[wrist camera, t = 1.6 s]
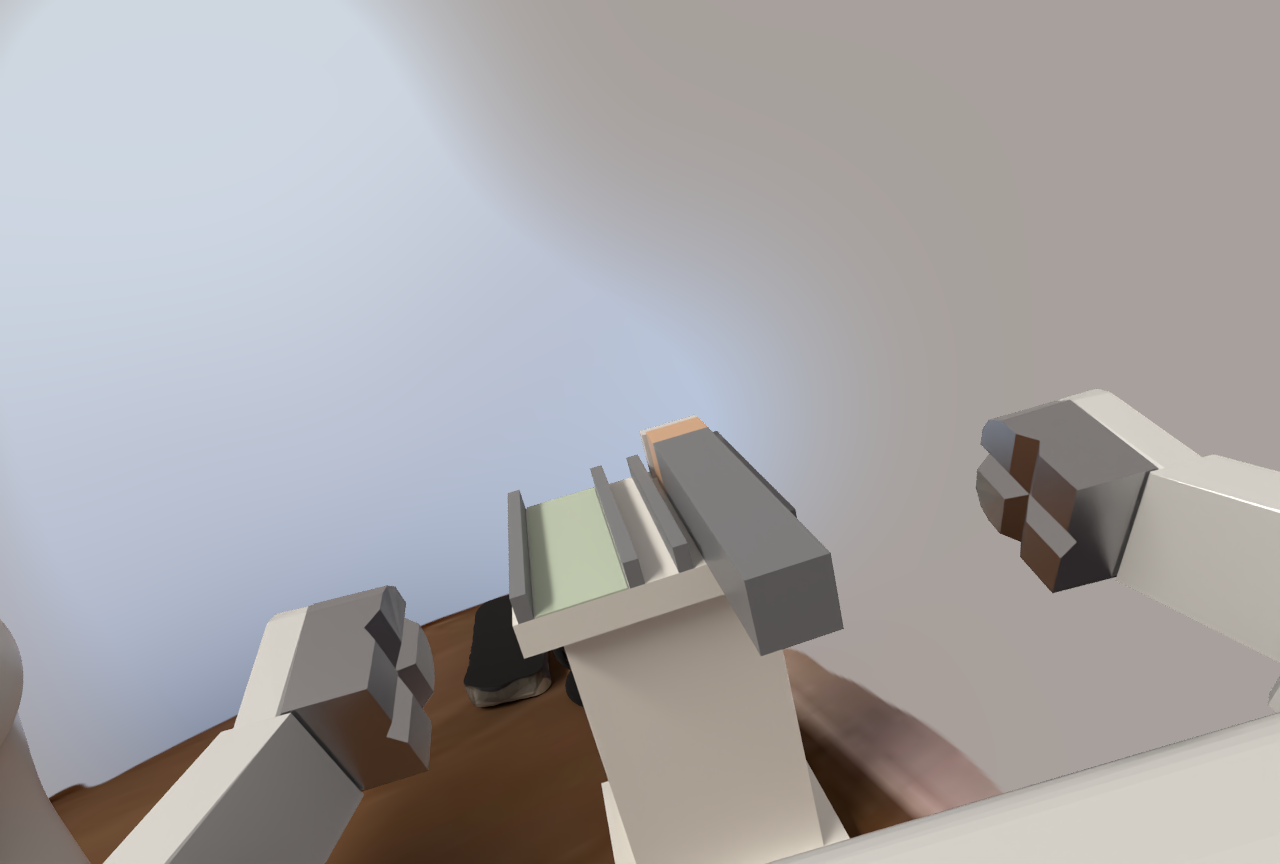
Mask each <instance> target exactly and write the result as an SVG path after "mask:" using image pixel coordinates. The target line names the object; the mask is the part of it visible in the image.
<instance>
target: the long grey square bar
mask: <svg viewBox="0 0 1280 864" xmlns="http://www.w3.org/2000/svg"><path fill="white" fill-rule="evenodd" d="M646 436H647V440H648V444H649V448H650V452H651V455H652V459H653V463H654V467H655V471H656V475H657V479H658V482H659V484H660V485H661V487H662V489H663V490H664V492H665V494H666V496H667V497H668V499H669V501H670V502H671V504H672V506H673V507H674V509H675V511H676V513H677V514H678V516H679V518H680V519H681V521H682V523H683V525H684V526H685V528H686V530H687V531H688V533H689V535H690V536H691V538H692V540H693V542H694V543H695V545H696V547H697V548H698V550H699V552H700V553H701V555H702V557H703V559H704V560H705V562H706V564H707V565H708V567H709V569H710V571H711V572H712V574H713V576H714V577H715V579H716V581H717V582H718V584H719V586H720V588H721V589H722V591H723V593H724V594H725V596H726V598H727V599H728V601H729V603H730V605H731V606H732V608H733V610H734V611H735V613H736V615H737V616H738V618H739V620H740V622H741V623H742V625H743V627H744V628H745V630H746V632H747V634H748V635H749V637H750V639H751V640H752V642H753V644H754V645H755V647H756V649H757V651H758V652H759V654H760V656H764V655H767V654H770V653H773V652H776V651H779V650H782V649H785V648H788V647H791V646H793V645H796V644H800V643H802V642H805V641H809V640H812V639H814V638H817V637H820V636H823V635H826V634H829V633H832V632H835V631H838V630H841V629H844V628H843V623H842V617H841V611H840V606H839V599H838V593H837V587H836V582H835V576H834V570H833V565H832V559H831V553H830V552H829V551H828V550H827V549H826V548H825V547H824V546H823V545H822V544H821V543H820V542H819V541H818V540H817V539H816V538H815V537H814V536H813V535H812V534H811V532H810V531H809V530H808V529H807V528H806V527H805V526H804V525H803V524H802V523H801V522H800V521H799V520H798V519H797V518H796V517H795V516H794V515H793V514H792V513H791V512H790V511H789V510H788V509H787V508H786V507H785V506H784V505H783V504H782V503H781V502H780V501H779V500H778V499H777V498H776V497H775V496H774V495H773V494H772V493H771V491H770V490H769V489H768V488H767V487H766V486H765V485H764V484H763V483H762V482H761V481H760V480H759V479H758V478H757V477H756V476H755V475H754V474H753V473H752V472H751V471H750V470H749V469H748V468H747V467H746V466H745V465H744V464H743V463H742V462H741V461H740V460H739V459H738V458H737V457H736V456H735V455H734V454H733V453H732V452H731V451H730V450H729V448H728V447H727V446H726V445H725V444H724V443H723V442H722V441H721V440H720V439H719V438H718V437H717V436H716V435H715V434H714V433H713V432H712V431H711V430H710V429H709V428H708V427H707V426H706V425H705V424H704V423H703V422H702V421H701V420H700V419H699V418H698V417H695V418H692V419H688V420H685V421H682V422H678V423H675V424H672V425H668V426H665V427H661V428H658V429H655V430H651V431H648V432H646Z"/></svg>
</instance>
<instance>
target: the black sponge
mask: <svg viewBox="0 0 1280 864" xmlns="http://www.w3.org/2000/svg"><path fill="white" fill-rule="evenodd" d="M471 648H472V649H471V654H470V657H469V659H470V661H469V666H468V669H467V673H466V675H465V678H464V685H465V689H466V692H467V694H468V696H469V698H470V700H471V702H472V703H473V704H474V705H475V706H478V707H486V706H495V705H497V704H501V703H505V702H509V701H514V700H518V699H523V698H528V697H533V696H537V695H540V694H542V693H543V692H545V691H546V690H547V689H548V688H549V687H550V685H551V676H550V672H549V667H548V651H547V652H544V653H541V654H538V655H535V656H531V657H528V658H525V659H524V657H523V654H522V651H521V648H520V646H519V643H518V640H517V637H516V634H515V632H514V629H513V625H512V605H511V602H510V599H509V595H508V596H504V597H500V598H497V599H494V600H491V601H488V602H486V603H484V604H483V605H481V607H480V608H479V609H478V610H477V612H476V615H475V625H474V634H473V642H472V647H471Z"/></svg>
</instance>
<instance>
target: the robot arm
mask: <svg viewBox="0 0 1280 864" xmlns="http://www.w3.org/2000/svg"><path fill="white" fill-rule="evenodd" d="M981 445H982V446H983V447H984V448H985V449H986V450H987V451H988V452H989V453H990V454H989V455H988V456H987V458H986V459H985V460H984V461H983V463H982V464H981V465H980V467H979V468H978V469H977V481H976V490H977V493H978V497H979V501H980V505H981V507H982V508H983V511H984V513H985V514H986V516H987V518H988V520H989V521H990V522H991V523H992V525H993V526H994V527H995V528H996V529H997V531H998V532H999V533H1000V534H1003V535H1005V536H1008V537H1010V538H1013V539H1015V540H1018V541H1020V542H1021V550H1020V557H1021V558H1022V559H1023V560H1024V562H1025V563H1026V564H1027V565H1028V566H1029V567H1030V568H1031V569H1032V571H1034V573H1035V574H1036V575H1037V576H1038V577H1039V578H1040V580H1041V581H1042V582H1043V583H1044V584H1045V585H1046V586H1047V588H1048V589H1049V590H1050V591H1051V592H1052V593H1055V592H1059V591H1062V590H1067V589H1071V588H1074V587H1079V586H1082V585H1086V584H1090V583H1094V582H1098V581H1102V580H1106V579H1110V578H1114V577H1116V581H1118V582H1120V583H1122V584H1124V585H1126V586H1128V587H1130V588H1132V589H1134V590H1136V591H1138V592H1140V593H1142V594H1144V595H1146V596H1148V597H1150V598H1152V599H1153V600H1156V601H1157V602H1160V603H1161V604H1163V605H1165V606H1167V607H1169V608H1171V609H1173V610H1175V611H1177V612H1179V613H1181V614H1183V615H1185V616H1187V617H1189V618H1191V619H1193V620H1195V621H1197V622H1199V623H1201V624H1203V625H1205V626H1207V627H1209V628H1211V629H1213V630H1215V631H1217V632H1219V633H1221V634H1223V635H1225V636H1227V637H1229V638H1231V639H1233V640H1235V641H1237V642H1239V643H1241V644H1243V645H1245V646H1247V647H1248V648H1251V649H1252V650H1255V651H1257V652H1258V653H1260V654H1262V655H1264V656H1266V657H1268V658H1270V659H1273V660H1274V661H1276V662H1278V663H1280V472H1278V471H1274V470H1271V469H1266V468H1263V467H1259V466H1255V465H1251V464H1248V463H1244V462H1240V461H1236V460H1233V459H1229V458H1225V457H1221V456H1218V455H1210V456H1207V457H1201V456H1199V455H1198V454H1196V453H1195V452H1194V451H1192V450H1191V449H1189V448H1188V447H1187V446H1185V445H1184V444H1182V443H1181V442H1179V441H1178V440H1177V439H1175V438H1174V437H1172V436H1171V435H1170V434H1168V433H1167V432H1166V431H1164V430H1163V429H1161V428H1160V427H1158V426H1157V425H1156V424H1154V423H1153V422H1151V421H1150V420H1149V419H1147V418H1146V417H1144V416H1143V415H1142V414H1140V413H1139V412H1137V411H1136V410H1135V409H1133V408H1132V407H1130V406H1129V405H1128V404H1126V403H1125V402H1123V401H1122V400H1121V399H1119V398H1118V397H1116V396H1115V395H1114V394H1112V393H1111V392H1108V391H1105V390H1101V389H1094V390H1091V391H1087V392H1084V393H1080V394H1077V395H1073V396H1070V397H1066V398H1063V399H1060V400H1059V401H1054V402H1050V403H1047V404H1043V405H1040V406H1036V407H1033V408H1029V409H1026V410H1022V411H1018V412H1015V413H1012V414H1008V415H1004V416H1001V417H997V418H994V419H990V420H988V422H987V423H986V425H985V426H984V428H983V431H982V437H981ZM405 607H406V602H405V601H404V599H403V598H402V596H401V595H400V593H399V592H398V590H397V589H396V587H394V586H384V587H380V588H375V589H371V590H368V591H363V592H360V593H356V594H352V595H347V596H343V597H340V598H335V599H331V600H327V601H323V602H320V603H316V604H314V605H312V606H308V607H303V608H299V609H295V610H291V611H287V612H283V613H278V614H276V615H275V616H274V617H273V618H272V619H271V620H270V621H269V622H268V624H267V626H266V629H265V632H264V635H263V638H262V641H261V644H260V647H259V650H258V654H257V657H256V660H255V663H254V666H253V669H252V672H251V676H250V678H249V681H248V685H247V688H246V691H245V694H244V697H243V700H242V703H241V706H240V709H239V713H238V716H237V719H236V722H235V725H234V728H233V729H230V730H227V731H224V732H221V733H220V734H219V735H218V736H217V737H216V738H215V740H214V741H213V742H212V743H211V744H210V745H209V746H208V747H207V748H206V750H205V751H204V752H203V753H202V754H201V755H200V756H199V757H198V759H197V760H196V761H195V762H194V763H193V764H192V765H191V766H190V767H189V769H188V770H187V771H186V772H185V773H184V774H183V775H182V776H181V777H180V779H179V780H178V781H177V782H176V783H175V784H174V785H173V786H172V787H171V789H170V790H169V791H168V792H167V793H166V794H165V795H164V796H163V797H162V799H161V800H160V801H159V802H158V803H157V804H156V805H155V806H154V807H153V809H152V810H151V811H150V812H149V813H148V814H147V815H146V816H145V817H144V819H143V820H142V821H141V822H140V823H139V824H138V825H137V826H136V827H135V829H134V830H133V831H132V832H131V833H130V834H129V835H128V836H127V837H126V839H125V840H124V841H123V842H122V843H121V844H120V845H119V846H118V847H117V849H116V850H115V851H114V852H113V853H112V854H111V855H110V856H109V857H108V859H107V860H106V861H105V862H104V863H103V864H325V863H326V861H327V859H328V858H329V856H330V854H331V852H332V850H333V849H334V847H335V845H336V843H337V842H338V840H339V838H340V836H341V835H342V833H343V831H344V829H345V827H346V826H347V824H348V822H349V820H350V819H351V817H352V815H353V813H354V812H355V810H356V808H357V806H358V804H359V803H360V801H361V799H362V797H363V796H364V795H363V793H362V791H365V790H369V789H372V788H375V787H378V786H381V785H384V784H388V783H391V782H394V781H397V780H400V779H404V778H407V777H410V776H413V775H416V774H420V773H423V772H426V771H428V768H429V754H430V740H431V726H432V722H431V721H430V719H429V718H428V716H427V715H426V713H425V712H424V710H423V707H424V706H425V704H426V703H427V701H428V700H429V698H430V697H431V695H432V694H433V692H434V675H435V672H434V665H433V658H432V652H431V649H430V646H429V643H428V640H427V638H426V635H425V633H424V632H423V630H422V628H421V627H420V625H419V624H418V623H415V622H413V621H411V620H408V619H406V618H404V617H405ZM22 689H23V666H22V660H21V656H20V652H19V649H18V646H17V644H16V642H15V640H14V638H13V636H12V634H11V632H10V631H9V630H8V628H7V627H6V625H5V624H4V623H3V622H2V621H1V620H0V864H91V863H90V862H89V860H88V859H87V857H86V856H85V854H84V853H83V851H82V850H81V848H80V847H79V845H78V844H77V842H76V841H75V839H74V838H73V836H72V835H71V833H70V832H69V830H68V829H67V827H66V826H65V824H64V823H63V821H62V820H61V819H60V817H59V816H58V814H57V813H56V811H55V809H54V808H53V806H52V804H51V802H50V801H49V799H48V797H47V795H46V793H45V791H44V789H43V786H42V784H41V781H40V779H39V777H38V774H37V771H36V768H35V765H34V762H33V759H32V757H31V753H30V750H29V746H28V743H27V740H26V736H25V733H24V730H23V727H22V724H21V720H20V717H19V714H18V708H19V705H20V700H21V696H22ZM1268 705H1269V706H1270V707H1271V708H1272V709H1273V710H1274V711H1275V712H1276V714H1272V715H1269V716H1265V717H1262V718H1258V719H1255V720H1252V721H1248V722H1245V723H1242V724H1238V725H1235V726H1231V727H1228V728H1224V729H1221V730H1218V731H1214V732H1211V733H1207V734H1204V735H1201V736H1197V737H1194V738H1190V739H1187V740H1184V741H1180V742H1177V743H1173V744H1170V745H1166V746H1163V747H1160V748H1156V749H1153V750H1149V751H1146V752H1143V753H1139V754H1136V755H1132V756H1129V757H1126V758H1123V759H1119V760H1115V761H1112V762H1109V763H1105V764H1102V765H1099V766H1095V767H1092V768H1088V769H1085V770H1082V771H1078V772H1075V773H1071V774H1068V775H1064V776H1061V777H1058V778H1054V779H1051V780H1047V781H1044V782H1041V783H1038V784H1034V785H1030V786H1027V787H1024V788H1020V789H1017V790H1014V791H1010V792H1007V793H1003V794H1000V795H996V796H993V797H989V798H986V799H983V800H979V801H976V802H972V803H969V804H966V805H962V806H959V807H955V808H952V809H949V810H945V811H942V812H938V813H935V814H932V815H928V816H925V817H921V818H918V819H915V820H911V821H908V822H904V823H901V824H898V825H894V826H891V827H887V828H884V829H881V830H877V831H874V832H871V833H867V834H864V835H860V836H857V837H854V838H850V839H847V840H843V841H840V842H837V843H833V844H830V845H826V846H823V847H820V848H816V849H813V850H809V851H806V852H803V853H799V854H796V855H792V856H789V857H786V858H782V859H779V860H775V861H772V862H769V863H765V864H1280V677H1279V678H1278V680H1277V681H1276V683H1275V685H1274V687H1273V688H1272V690H1271V691H1270V694H1269V702H1268Z"/></svg>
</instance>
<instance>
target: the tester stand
mask: <svg viewBox="0 0 1280 864" xmlns="http://www.w3.org/2000/svg"><path fill="white" fill-rule="evenodd" d="M695 417H697V416H696V415H693V416H689V417H686V418H682V419H679V420H676V421H672V422H669V423H666V424H662V425H659V426H655V427H652V428H649V429H645V430H642V431H639V432H640V436H641V440H642V443H643V447H644V451H645V455H646V459H647V462H648V467H649V470H650V472H647V471H646V469H645V467H644V465H643V464H642V462H641V460H640V458H639V456H638V455H634V456H631V457H628V458H627V462H628V465H629V469H630V473H631V478H628V479H625V480H622V481H618V482H615V483H611V484H608V481H607V478H606V476H605V473H604V471H603V468H602V466H598V467H594V468H591V469H590V470H591V473H592V477H593V480H594V484H595V487H596V488H595V489H594V487H593V488H590V489H587V490H583V491H581V492H577V493H574V494H570V495H567V496H564V497H561V498H557V499H554V500H551V501H547V502H544V503H540V504H537V505H534V506H530V507H527V509H525V506H524V503H523V500H522V497H521V494H520V491H519V490H517V491H514V492H511V493H508V533H509V534H508V538H509V599H510V602H511V605H512V625H513V629H514V632H515V634H516V637H517V640H518V643H519V646H520V648H521V651H522V654H523V657H524V659H525V658H528V657H531V656H535V655H538V654H541V653H544V652H547V651H550V650H553V649H556V648H559V647H562V646H564V649H565V652H566V655H567V658H568V661H569V664H570V667H571V670H572V673H573V676H574V679H575V682H576V685H577V688H578V691H579V694H580V697H581V700H582V703H583V706H584V709H585V712H586V715H587V718H588V721H589V724H590V727H591V730H592V733H593V736H594V739H595V742H596V745H597V748H598V751H599V754H600V757H601V760H602V763H603V766H604V769H605V772H606V775H607V778H608V781H607V782H604V783H601V784H602V790H603V796H604V802H605V807H606V813H607V819H608V825H609V831H610V836H611V842H612V848H613V854H614V860H615V864H765V863H769V862H772V861H775V860H779V859H782V858H786V857H789V856H792V855H796V854H799V853H803V852H806V851H809V850H813V849H816V848H820V847H823V846H826V845H830V844H833V843H837V842H840V841H843V840H847V839H850V838H849V836H848V834H847V832H846V831H845V829H844V827H843V825H842V823H841V822H840V820H839V818H838V816H837V814H836V813H835V811H834V809H833V807H832V805H831V804H830V802H829V800H828V798H827V797H826V795H825V793H824V791H823V789H822V788H821V786H820V784H819V782H818V780H817V779H816V777H815V775H814V773H813V771H812V770H811V768H810V766H809V764H808V763H807V761H806V758H805V753H804V749H803V744H802V739H801V734H800V730H799V725H798V720H797V715H796V710H795V706H794V701H793V696H792V691H791V687H790V682H789V677H788V672H787V667H786V663H785V658H784V653H783V649H782V650H779V651H776V652H773V653H770V654H767V655H764V656H760V654H759V652H758V651H757V649H756V647H755V645H754V644H753V642H752V640H751V639H750V637H749V635H748V634H747V632H746V630H745V628H744V627H743V625H742V623H741V622H740V620H739V618H738V616H737V615H736V613H735V611H734V610H733V608H732V606H731V605H730V603H729V601H728V599H727V598H726V596H725V594H724V593H723V591H722V589H721V588H720V586H719V584H718V582H717V581H716V579H715V577H714V576H713V574H712V572H711V571H710V569H709V567H708V565H707V564H706V562H705V560H704V559H703V557H702V555H701V553H700V552H699V550H698V548H697V547H696V545H695V543H694V542H693V540H692V538H691V536H690V535H689V533H688V531H687V530H686V528H685V526H684V525H683V523H682V521H681V519H680V518H679V516H678V514H677V513H676V511H675V509H674V507H673V506H672V504H671V502H670V501H669V499H668V497H667V496H666V494H665V492H664V490H663V489H662V487H661V485H660V484H659V482H658V479H657V475H656V471H655V467H654V463H653V459H652V455H651V452H650V448H649V444H648V440H647V436H646V432H648V431H651V430H655V429H658V428H661V427H665V426H668V425H672V424H675V423H678V422H682V421H685V420H688V419H692V418H695ZM713 433H714V434H715V435H716V436H717V437H718V438H719V439H720V440H721V441H722V442H723V443H724V444H725V445H726V446H727V447H728V448H729V450H730V451H731V452H732V453H733V454H734V455H735V456H736V457H737V458H738V459H739V460H740V461H741V462H742V463H743V464H744V465H745V466H746V467H747V468H748V469H749V470H750V471H751V472H752V473H753V474H754V475H755V476H756V477H757V478H758V479H759V480H760V481H761V482H762V483H763V484H764V485H765V486H766V487H767V488H768V489H769V490H770V491H771V493H772V494H773V495H774V496H775V497H776V498H777V499H778V500H779V501H780V502H781V503H782V504H783V505H784V506H785V507H786V508H787V509H788V510H789V511H790V512H791V513H792V514H793V515H794V516H795V517H796V518H797V516H796V511H795V509H794V508H793V506H792V505H790V503H788V502H787V501H786V500H785V499H784V498H783V497H782V496H781V495H780V494H779V493H778V492H777V491H776V490H775V489H774V488H773V487H772V486H771V485H770V484H769V483H768V482H767V481H766V480H765V479H764V478H763V477H762V476H761V475H760V474H759V473H758V472H757V471H756V470H755V469H754V468H753V467H752V466H751V465H750V464H749V463H748V462H747V461H746V460H745V459H744V458H743V457H742V456H741V455H740V454H739V453H738V452H737V451H736V450H735V449H734V448H733V447H732V446H731V445H730V444H729V443H728V442H727V441H726V440H725V439H724V438H723V437H722V436H721V435H720V434H719V433H718V432H717V431H715V432H713Z"/></svg>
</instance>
